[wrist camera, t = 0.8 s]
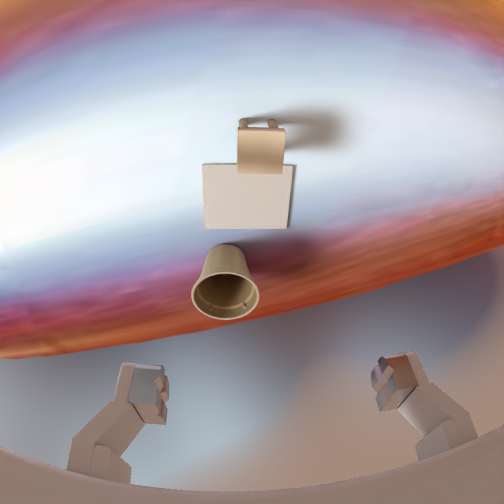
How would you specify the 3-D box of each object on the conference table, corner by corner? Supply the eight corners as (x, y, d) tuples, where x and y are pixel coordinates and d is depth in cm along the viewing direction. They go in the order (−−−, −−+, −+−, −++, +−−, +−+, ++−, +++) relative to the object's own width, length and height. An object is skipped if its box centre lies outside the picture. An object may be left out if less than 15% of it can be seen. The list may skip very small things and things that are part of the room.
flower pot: (266, 248, 49) (272, 286, 42) (238, 288, 54) (239, 326, 47) (211, 225, 46) (208, 262, 39) (187, 269, 51) (181, 307, 44)
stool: (237, 116, 36) (238, 130, 31) (277, 117, 37) (285, 131, 31) (236, 153, 39) (237, 173, 34) (274, 153, 40) (282, 174, 34)
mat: (202, 164, 40) (202, 165, 40) (292, 165, 41) (293, 166, 40) (205, 227, 46) (205, 228, 46) (286, 227, 47) (286, 228, 46)
